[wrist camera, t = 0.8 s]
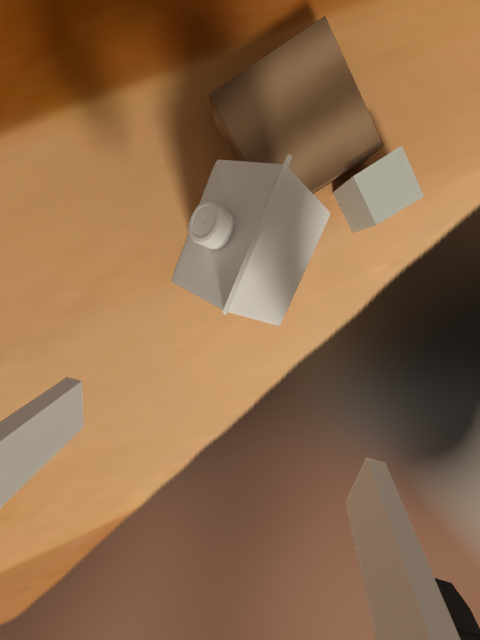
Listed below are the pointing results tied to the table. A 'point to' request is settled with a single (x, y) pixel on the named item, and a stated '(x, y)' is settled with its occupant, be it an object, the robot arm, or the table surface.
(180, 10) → the table surface
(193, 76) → the table surface
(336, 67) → the walnut block
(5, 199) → the table surface
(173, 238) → the table surface
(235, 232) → the milk carton
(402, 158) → the grey cube
